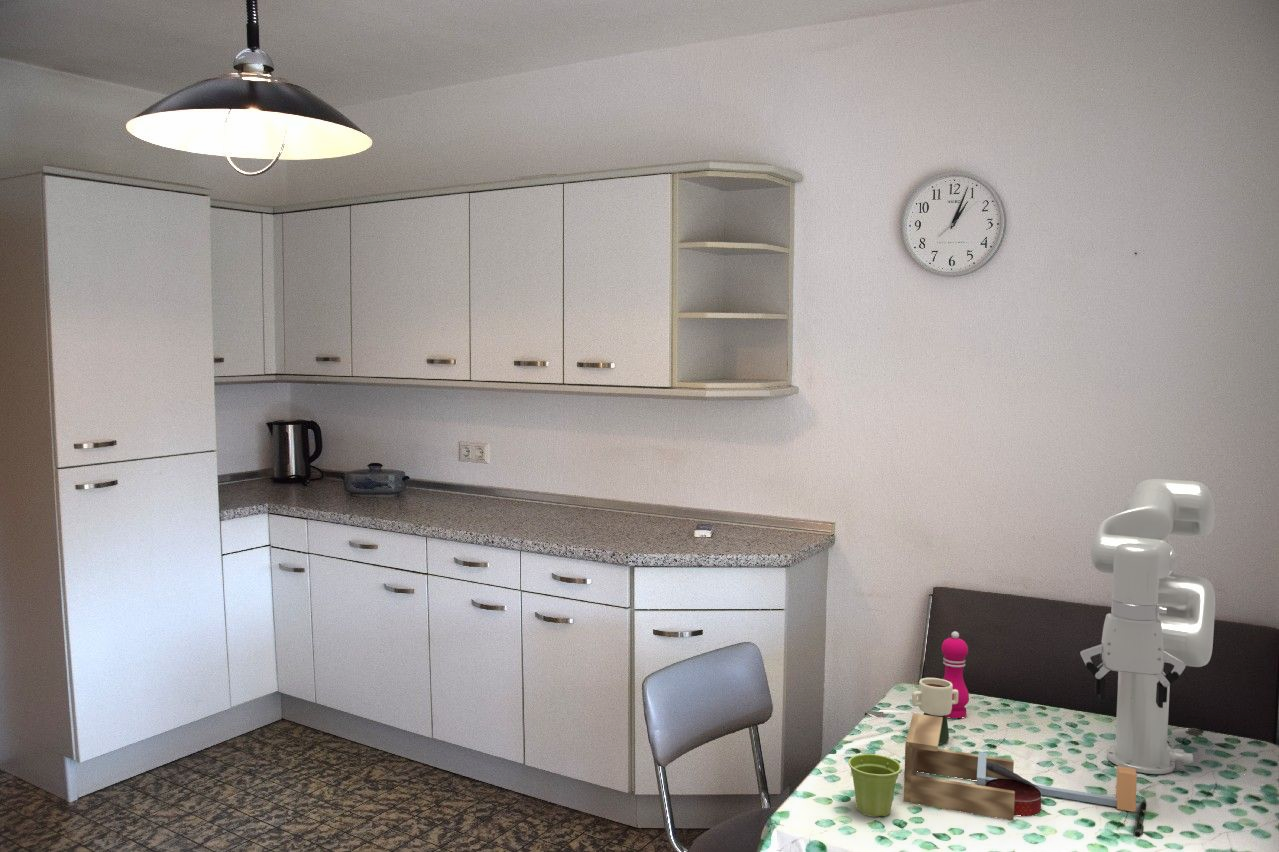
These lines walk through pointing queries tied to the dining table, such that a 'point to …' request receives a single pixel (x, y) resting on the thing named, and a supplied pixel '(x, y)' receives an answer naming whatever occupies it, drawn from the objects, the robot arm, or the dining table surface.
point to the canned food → (1017, 790)
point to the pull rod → (1122, 801)
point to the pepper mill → (956, 672)
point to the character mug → (936, 701)
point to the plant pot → (874, 783)
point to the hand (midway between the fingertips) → (1130, 701)
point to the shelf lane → (950, 774)
